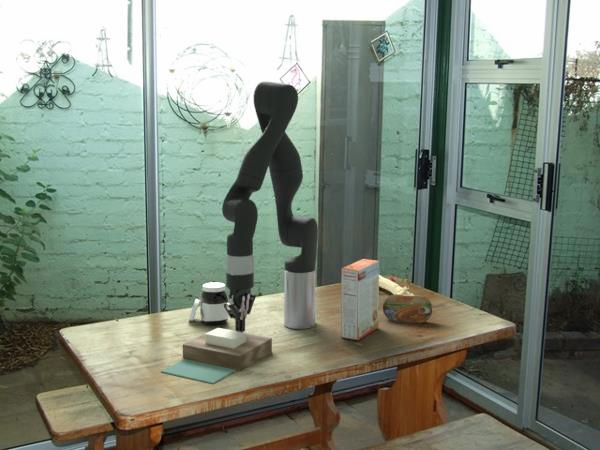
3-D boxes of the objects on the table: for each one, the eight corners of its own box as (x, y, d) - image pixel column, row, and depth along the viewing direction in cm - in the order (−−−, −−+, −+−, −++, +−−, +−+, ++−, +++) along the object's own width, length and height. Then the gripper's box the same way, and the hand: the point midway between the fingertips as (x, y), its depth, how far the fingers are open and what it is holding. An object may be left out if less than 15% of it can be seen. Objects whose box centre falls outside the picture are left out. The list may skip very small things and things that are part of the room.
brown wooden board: (217, 341, 223) (216, 327, 222) (271, 352, 215) (271, 338, 214) (182, 358, 209) (182, 344, 208) (240, 370, 201) (239, 356, 200)
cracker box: (361, 325, 239) (362, 257, 235) (379, 328, 236) (380, 260, 232) (339, 337, 227) (340, 267, 223) (357, 341, 224) (359, 269, 220)
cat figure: (419, 304, 267) (378, 281, 288) (421, 279, 264) (380, 258, 286) (395, 308, 262) (355, 284, 283) (397, 283, 260) (357, 261, 281)
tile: (218, 336, 215) (217, 327, 214) (245, 341, 211) (245, 332, 210) (205, 342, 210) (205, 333, 209) (233, 348, 206) (233, 339, 205)
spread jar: (231, 324, 238) (231, 287, 236) (196, 329, 233) (195, 291, 231) (218, 314, 249) (218, 278, 247) (184, 318, 244) (183, 282, 242)
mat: (184, 360, 208) (184, 358, 208) (235, 370, 201) (235, 369, 201) (160, 372, 200) (160, 370, 200) (213, 383, 192) (213, 382, 192)
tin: (382, 320, 243) (382, 294, 242) (383, 317, 246) (384, 291, 245) (431, 324, 240) (432, 297, 238) (432, 321, 243) (433, 295, 241)
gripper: (241, 263, 221) (241, 323, 224) (214, 273, 209) (215, 336, 212) (264, 267, 217) (264, 327, 220) (238, 277, 206) (238, 340, 209)
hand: (240, 331), depth 216 cm, fingers closed
